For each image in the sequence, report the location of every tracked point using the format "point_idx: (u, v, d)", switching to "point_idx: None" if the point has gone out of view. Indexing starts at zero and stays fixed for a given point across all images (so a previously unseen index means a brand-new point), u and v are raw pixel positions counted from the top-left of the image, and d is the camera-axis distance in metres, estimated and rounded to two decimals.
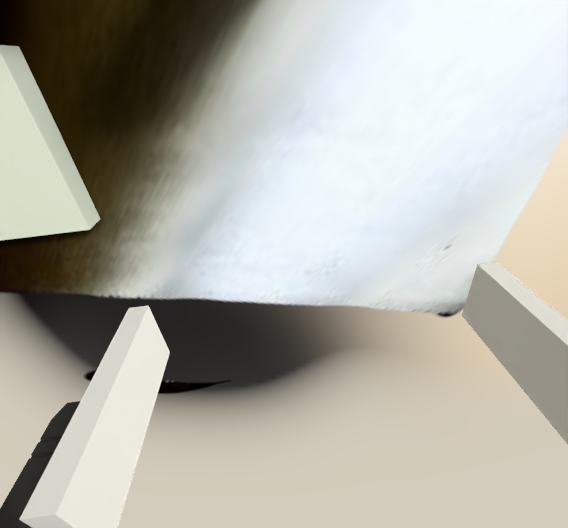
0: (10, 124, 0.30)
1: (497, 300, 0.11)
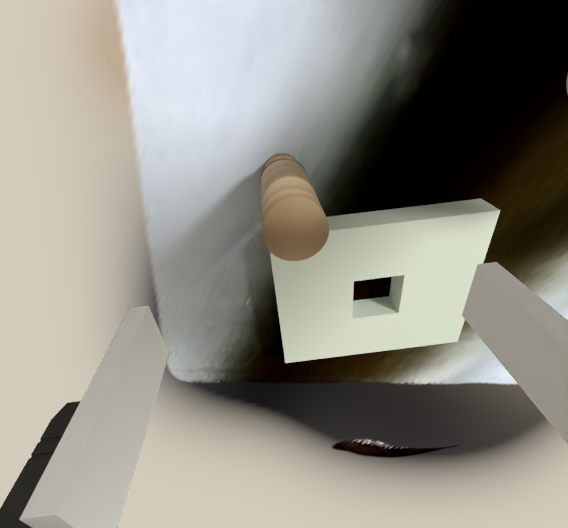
0: (460, 266, 0.32)
1: (497, 300, 0.11)
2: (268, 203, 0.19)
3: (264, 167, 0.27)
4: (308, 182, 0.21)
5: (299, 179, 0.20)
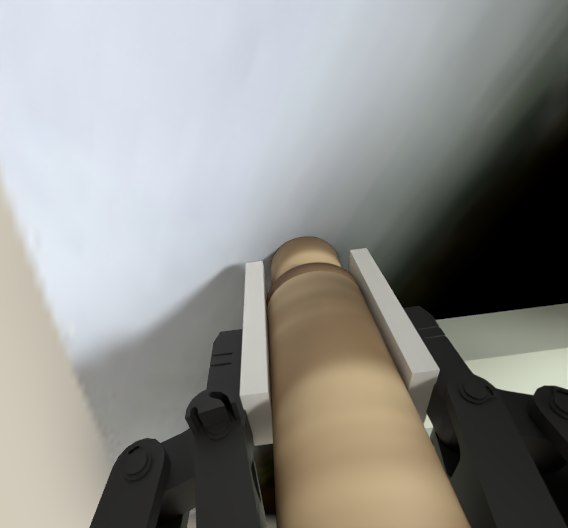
0: None
1: (358, 280, 0.13)
2: (300, 521, 0.06)
3: (273, 262, 0.14)
4: (390, 364, 0.08)
5: (375, 378, 0.08)
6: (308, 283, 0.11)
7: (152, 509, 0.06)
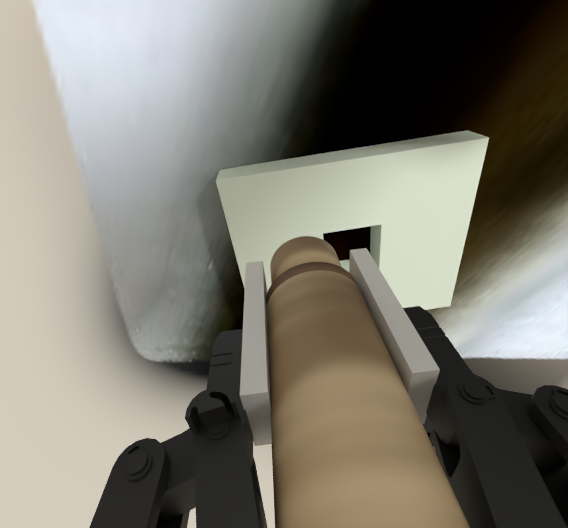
0: (446, 212, 0.28)
1: (358, 280, 0.13)
2: (299, 520, 0.06)
3: (272, 262, 0.14)
4: (389, 364, 0.08)
5: (374, 377, 0.08)
6: (307, 282, 0.11)
7: (152, 509, 0.06)
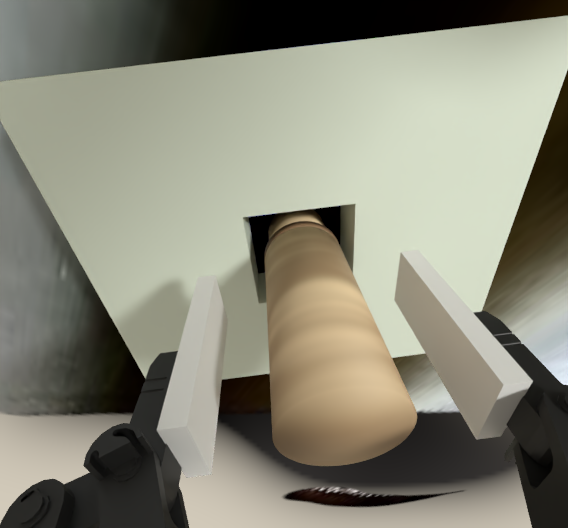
0: (478, 185, 0.14)
1: (413, 283, 0.12)
2: (284, 359, 0.09)
3: (270, 226, 0.18)
4: (353, 283, 0.12)
5: (340, 286, 0.11)
6: (296, 234, 0.14)
7: None
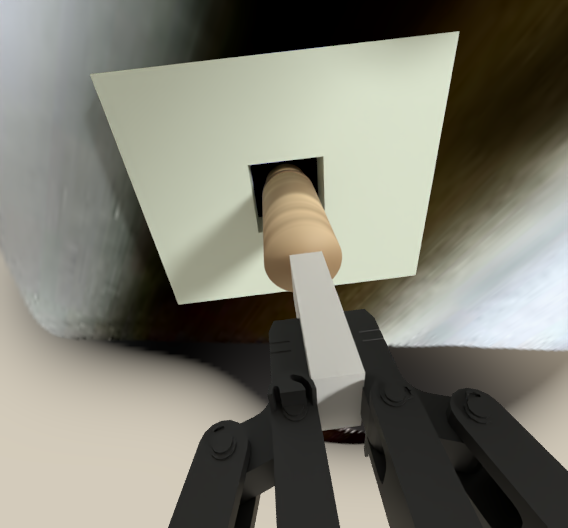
0: (406, 143, 0.21)
1: None
2: (271, 226, 0.16)
3: (266, 178, 0.25)
4: (316, 199, 0.19)
5: (306, 196, 0.18)
6: (283, 175, 0.21)
7: (237, 492, 0.06)
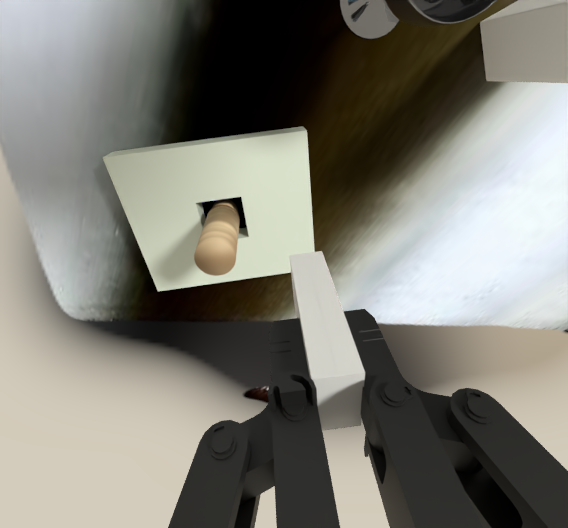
0: (290, 188, 0.36)
1: None
2: (199, 240, 0.30)
3: None
4: (231, 224, 0.33)
5: (223, 223, 0.32)
6: (216, 209, 0.35)
7: (237, 492, 0.06)
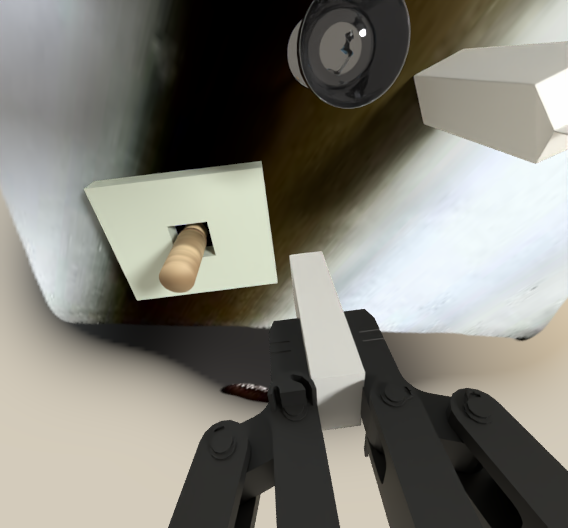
0: (250, 215, 0.41)
1: None
2: None
3: None
4: (195, 247, 0.38)
5: (187, 247, 0.37)
6: (185, 232, 0.40)
7: (237, 492, 0.06)
